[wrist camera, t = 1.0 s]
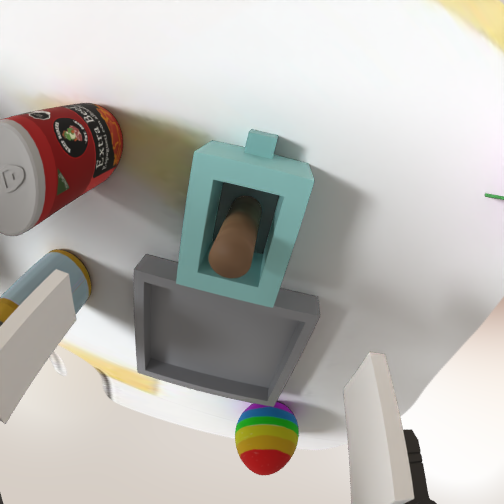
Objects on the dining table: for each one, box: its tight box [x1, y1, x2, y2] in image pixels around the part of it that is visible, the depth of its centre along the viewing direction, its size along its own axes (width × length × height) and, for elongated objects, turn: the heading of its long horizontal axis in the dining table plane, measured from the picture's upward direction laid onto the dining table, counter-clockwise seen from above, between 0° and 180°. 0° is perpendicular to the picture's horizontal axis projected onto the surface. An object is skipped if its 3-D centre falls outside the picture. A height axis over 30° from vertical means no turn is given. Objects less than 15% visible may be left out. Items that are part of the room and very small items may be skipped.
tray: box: [134, 254, 320, 407], centre depth 30 cm, size 16×15×3 cm
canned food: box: [0, 103, 123, 236], centre depth 18 cm, size 8×8×11 cm
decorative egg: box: [235, 402, 299, 475], centre depth 34 cm, size 8×8×10 cm
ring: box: [176, 129, 315, 308], centre depth 22 cm, size 8×12×5 cm, turn 167°
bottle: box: [0, 249, 91, 323], centre depth 24 cm, size 7×7×15 cm
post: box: [209, 196, 262, 278], centre depth 21 cm, size 2×2×8 cm
